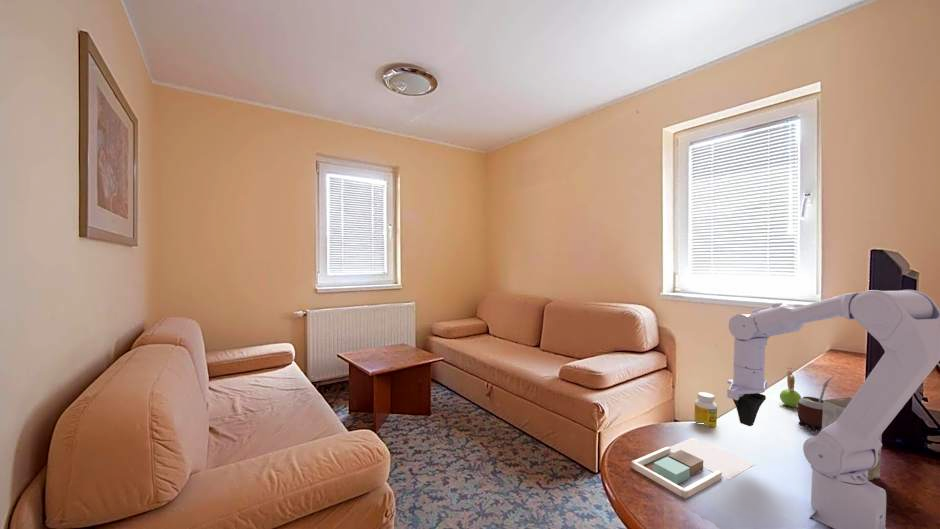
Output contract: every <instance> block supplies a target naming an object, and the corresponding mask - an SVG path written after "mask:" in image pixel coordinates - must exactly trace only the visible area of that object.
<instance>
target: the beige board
mask: <svg viewBox="0 0 940 529" xmlns="http://www.w3.org/2000/svg"><path fill="white" fill-rule="evenodd" d="M669 447H670V453H671V454H672V453H675V452H677V451H679V450H683V451H685V452H687V453H689V454H691V455H693V456H695V457H698V458H700V459H702V460H703V469H705V470H707V471H709V472H711V473H713V472H715V471H717V470H718V471H720V472H722V478H723V479H725V480H731V479H732V478H735V477H736V476H738V475H739V474H741V473H743V472H745V471H746V470H748V469H749V468H752V467H753V466H755V465H756V463H754V462H751V461H749V460H747V459H744V458H742V457H739V456H737V455H735V454H732V453H730V452H728V451H726V450H723V449H721V448H719V447H717V446H714V445H712V444H709V443H706V442H704V441H702V440H699V439H697V438H696V437H692V436H691V437H690V438H687V439H685V440H683V441H680V442H678V443H676V444H673V445H671V446H669Z"/></svg>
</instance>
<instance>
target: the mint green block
mask: <svg viewBox="0 0 940 529" xmlns="http://www.w3.org/2000/svg"><path fill="white" fill-rule="evenodd" d="M652 471H653V472H655V473H657V474H659V475H661V476H662V477H664V478H666V479H668V480H670V481H671V482H673V483H675V484H677V485H679V484H681V483H682V482H685V481H687V480H688V479H690V477H691V476H690V468H689V467H687V466H685V465H683V464H681V463H679V462H677V461H675V460H673V459H671V458H669V457H668V456H664V457H662V458H660V459H657V460H655V461H653V470H652Z"/></svg>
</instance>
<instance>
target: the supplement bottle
mask: <svg viewBox="0 0 940 529" xmlns="http://www.w3.org/2000/svg"><path fill="white" fill-rule="evenodd" d="M715 397H716V396H715V395H714V394H712V393H710V392H705V391H702V392H701V391H700V392H698V393H697V399H695V401H694V416H693V417H694V422H695V423H696V424H697V423H704V424H698V425H699V426H701V427H702V426H703V427H707V428H716V427H717V420H718V415H717V414H718V405H717V403H716V402H715V399H716V398H715Z"/></svg>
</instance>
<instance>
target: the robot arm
mask: <svg viewBox="0 0 940 529" xmlns="http://www.w3.org/2000/svg"><path fill="white" fill-rule="evenodd" d="M751 312H752V313H750V314H748V313H746V314H743V313H737V314H736V315H733V316H732V317H731V318H730V319H729V321H728V330H729V332H730V334H731V335H732V336H733V337H734V338H733V372H732V377H733V378H731V379H728V380H727V381H726V382H727V384H729V386H730V387H728V388H727V389H726V392H727V393H726V398H728V399H731V400H732V401H733V403H734V405H735V408H736V413H737V416H738V419H739V423H740V424H741V425H744V426H747V427H752V426H754V424H755V422H756V418H757V414H758V412H759V411H760V408H761V406H762V404H763V403H764V402H765V400H766V398H767V396H766V395H765V394H762V393H765V391H766V390H768V381H767V380H765V365H766V363H765V362H766V346H767V345H768V340H769V338H771V337H774V336H780V335H785V334H789V333H794V332H796V333H797V332H799V331H800V330H802V328H803V327H804V324H807V323H811V322H816V321H817V322H818V321H825V320H829V319H834V318H835V319H836V318H840V317H841V318H844V319H846V320H855V321H856V322H857V323H858V324H859V325H860V326H861V327H862V328H863V329H865V330H866V331H867V333H869V334H870V335H871V337H873V338H874V339H875V340H876V341H877V342H878V343H879V344H880V346H881V347H882V349H883V350H884V353H883V354H882V356H881V357H880V359H879V360H878V362H877V363H876V364H875V366H874V367H873V368H872V370H871V372H869V375H867V377H866V379H865V380H864V381H863V383H862V384H861V386H860V387H859V388H858V390H857V391H856V393H855V394H854V396H853V397H851V398H852V400H851V401H850V403H849V404H848V405H847V407H846V408H845V410H844V411H843V412H842V414H841V415H840V417H839V418H838V419H837V421H836V422H834V423H832V424H831V425H829V426H827V427H826V428H824V429H822V430H821V429H820V431H819V433H817V435H814V436H812V437H811V436H810V437H809V438H807V439H806V440H805V441H804V443H803V445H802V446H803V447H802V449H803V455H804V457H805V459H806V461H807V462H808V464H809V465H810V468H811V469H812V470H811V487H810V488H811V491H810V493H811V494H810V504H811V507H812V508H813V509H814V510H815V512H813V514H811V515H810V516H809V518H811V519H814V520H815V521H817V522H819V523H821V524H824V525H826V526H828V527H830V528H832V529H887V528H886V517H887V492H886V490H885V489H884V488H882V487H881V486H878V485H876V484H874V483H873V482H871V481H870V480H867V476H868V470H870V469H873V468H874V467H875V466H876V465H877V463H878V451H879V449H880V448H881V449H882V447H883V443H882V441H881V442H880V440H879V439H878V438H879V436H880V435H881V434H882V435H883V433H884V431H885V430H886V429H887V428H888V426H889V425H890V424H891V423H892V421H893V420H894V419H895V418H896V416H897V415H898V414H899V413H900V411H902V409H903V408H904V407H905V406H906V403H908V402H909V400H910V399H911V398H912V396H913V395H914V394H915V393H916V391H917V390H918V388H920V386H921V385H922V384H923V382H924V381H925V380H926V379H927V377H928V376H929V375H930V374H931V372H932V371H933V370H934V369H935V367H936V366H937V365H938V364H939V362H940V308H939V307H938V305H937V303H936V302H935V301H934V300H933V299H932V298H931V297H930V296H929V295H927V294H926V293H924V292H922V291H919V290H914V289H902V290H878V289H875V290H874V289H871V290H864V291H862V292H850V293H844V294H840V295H836V296H833V297H831V298H826V299H823V300H820V301H815V302H812V303H809V304H805V305H801V306H799V307H798V306H797V307H795V306H794V305H791V304H783V303H780V302H777V303H772V304H771V307H769V308H766V309H763V310H760V309H753V310H752V311H751Z"/></svg>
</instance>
